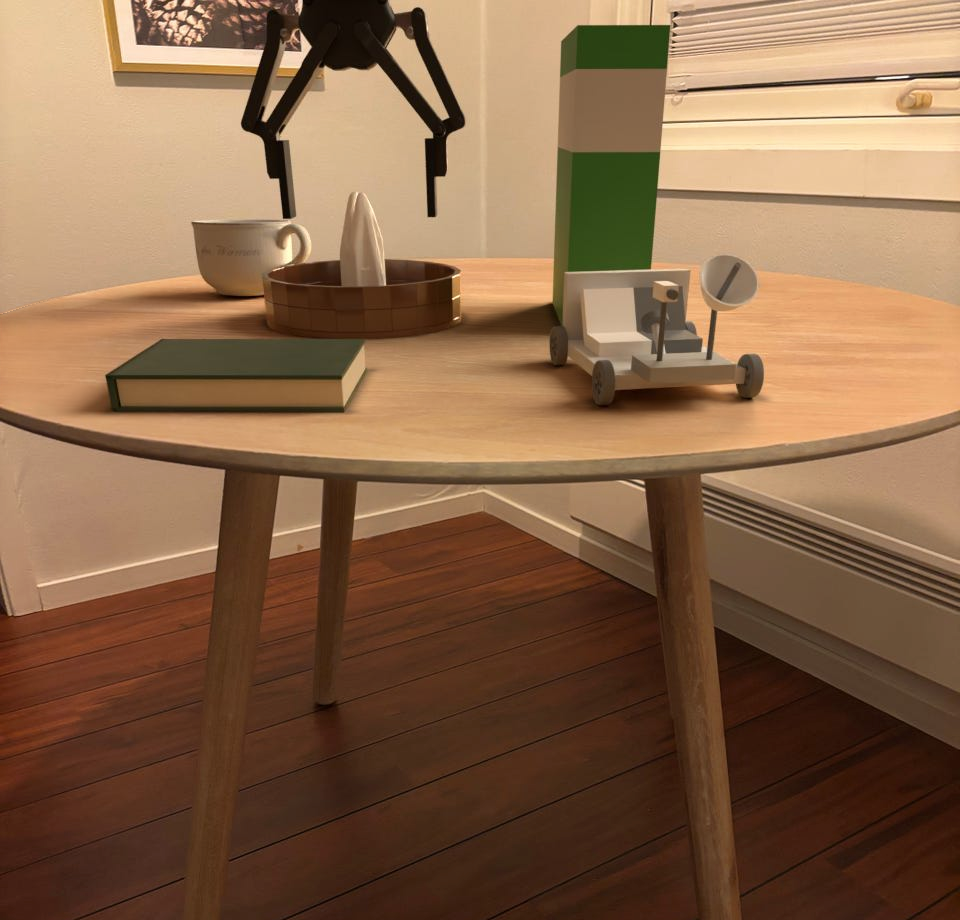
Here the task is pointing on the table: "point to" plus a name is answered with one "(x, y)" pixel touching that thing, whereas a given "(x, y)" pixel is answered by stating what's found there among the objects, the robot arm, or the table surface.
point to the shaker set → (361, 245)
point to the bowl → (362, 300)
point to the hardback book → (608, 148)
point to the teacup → (245, 252)
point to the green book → (239, 376)
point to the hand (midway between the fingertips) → (361, 217)
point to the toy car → (653, 328)
